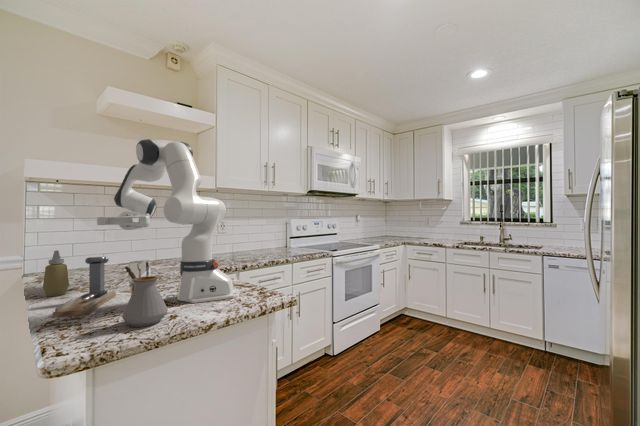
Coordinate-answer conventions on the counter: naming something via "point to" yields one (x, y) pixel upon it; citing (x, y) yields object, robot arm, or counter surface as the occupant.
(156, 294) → the coffee pot
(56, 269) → the squeeze bottle
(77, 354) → the counter surface
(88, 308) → the track
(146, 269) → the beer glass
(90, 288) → the handle
